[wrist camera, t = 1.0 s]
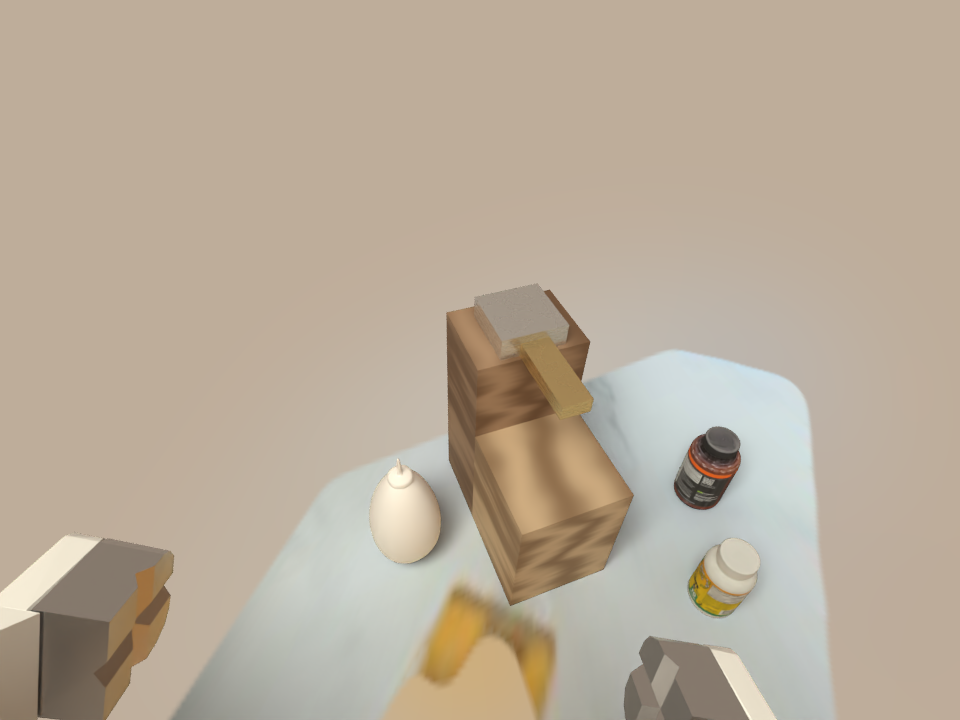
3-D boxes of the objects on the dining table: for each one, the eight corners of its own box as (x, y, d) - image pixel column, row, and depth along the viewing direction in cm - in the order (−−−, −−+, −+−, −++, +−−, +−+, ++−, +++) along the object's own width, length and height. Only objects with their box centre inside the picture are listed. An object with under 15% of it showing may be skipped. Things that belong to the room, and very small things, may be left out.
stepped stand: (510, 605, 62) (532, 472, 44) (448, 460, 76) (446, 312, 57) (603, 569, 65) (659, 431, 47) (528, 436, 79) (549, 289, 61)
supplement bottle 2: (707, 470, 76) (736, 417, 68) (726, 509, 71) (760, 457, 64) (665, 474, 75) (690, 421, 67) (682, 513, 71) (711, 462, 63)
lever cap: (539, 426, 47) (542, 407, 45) (474, 316, 57) (474, 297, 55) (610, 405, 49) (616, 386, 47) (535, 302, 59) (537, 283, 57)
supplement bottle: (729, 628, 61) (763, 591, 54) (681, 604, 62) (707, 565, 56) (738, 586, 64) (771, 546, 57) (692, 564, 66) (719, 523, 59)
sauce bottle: (451, 562, 65) (450, 475, 53) (388, 590, 63) (371, 505, 50) (427, 508, 70) (420, 417, 58) (367, 532, 68) (347, 442, 55)
